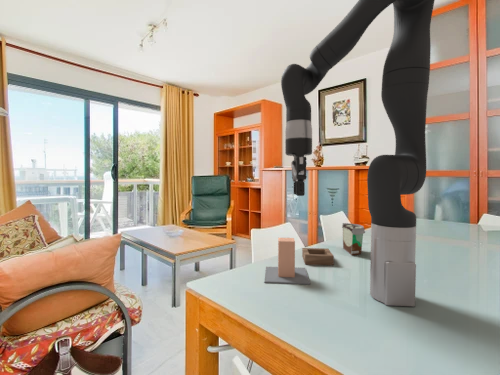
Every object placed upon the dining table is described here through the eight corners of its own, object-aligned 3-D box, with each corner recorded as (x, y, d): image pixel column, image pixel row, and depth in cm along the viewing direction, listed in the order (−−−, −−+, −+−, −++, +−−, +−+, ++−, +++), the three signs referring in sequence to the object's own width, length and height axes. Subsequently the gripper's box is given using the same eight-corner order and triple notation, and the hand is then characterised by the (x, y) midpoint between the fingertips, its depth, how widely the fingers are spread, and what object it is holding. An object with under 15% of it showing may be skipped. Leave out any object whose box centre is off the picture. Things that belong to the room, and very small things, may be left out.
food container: (370, 256, 96) (370, 228, 95) (352, 256, 96) (353, 228, 95) (357, 247, 108) (357, 223, 108) (341, 247, 108) (342, 222, 108)
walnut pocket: (333, 265, 86) (333, 255, 86) (305, 264, 87) (305, 255, 87) (328, 257, 95) (328, 248, 95) (302, 256, 96) (302, 247, 96)
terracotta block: (294, 277, 75) (294, 241, 75) (278, 276, 75) (278, 241, 75) (293, 271, 79) (293, 237, 79) (278, 271, 80) (278, 237, 79)
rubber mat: (310, 284, 71) (310, 282, 71) (264, 282, 72) (264, 281, 72) (305, 269, 83) (305, 267, 83) (265, 267, 84) (265, 266, 84)
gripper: (316, 133, 70) (316, 196, 70) (308, 141, 84) (308, 193, 84) (286, 134, 70) (287, 196, 71) (284, 142, 84) (284, 194, 85)
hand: (298, 195), depth 77 cm, fingers open, 8 cm apart
